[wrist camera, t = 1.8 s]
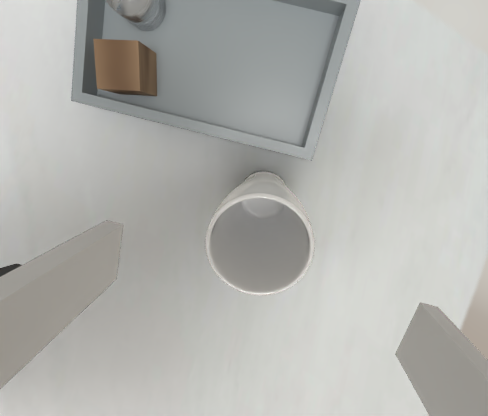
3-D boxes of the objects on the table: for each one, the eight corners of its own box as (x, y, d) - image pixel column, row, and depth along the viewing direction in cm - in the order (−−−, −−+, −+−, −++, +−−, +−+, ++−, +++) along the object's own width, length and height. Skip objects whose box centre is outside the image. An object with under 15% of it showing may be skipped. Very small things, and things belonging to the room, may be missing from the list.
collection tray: (90, 103, 30) (71, 100, 27) (103, -50, 26) (82, -73, 23) (307, 157, 30) (311, 160, 27) (351, 9, 26) (362, -7, 23)
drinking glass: (263, 150, 30) (257, 167, 16) (307, 193, 31) (341, 247, 16) (221, 195, 32) (180, 247, 17) (264, 235, 32) (260, 317, 18)
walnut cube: (119, 94, 29) (96, 88, 25) (117, 51, 28) (93, 38, 24) (157, 96, 29) (140, 90, 25) (156, 53, 28) (138, 40, 24)
